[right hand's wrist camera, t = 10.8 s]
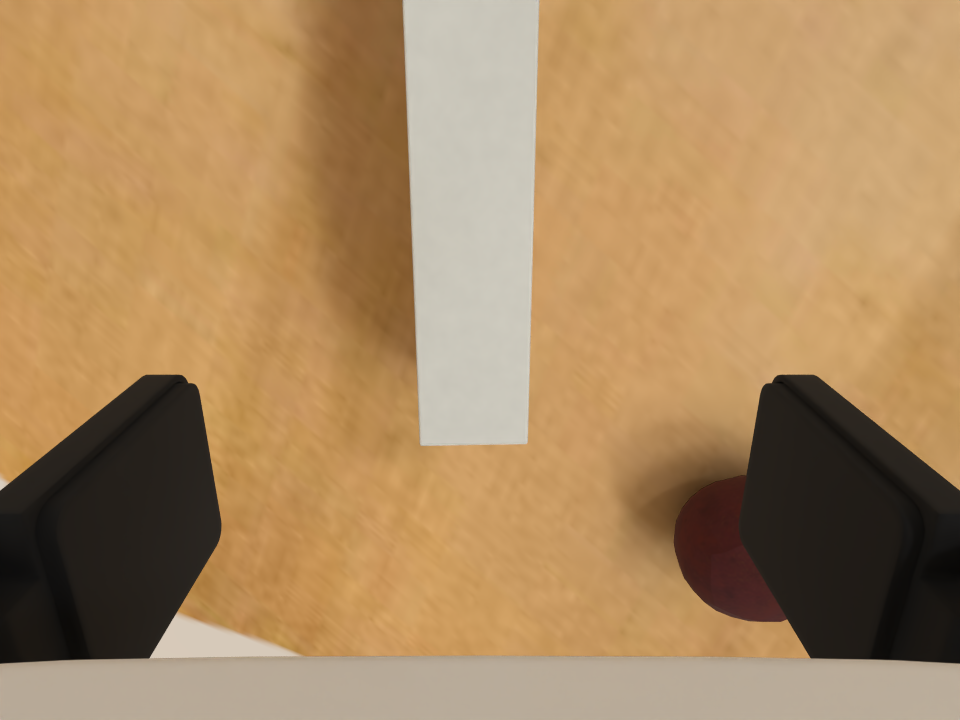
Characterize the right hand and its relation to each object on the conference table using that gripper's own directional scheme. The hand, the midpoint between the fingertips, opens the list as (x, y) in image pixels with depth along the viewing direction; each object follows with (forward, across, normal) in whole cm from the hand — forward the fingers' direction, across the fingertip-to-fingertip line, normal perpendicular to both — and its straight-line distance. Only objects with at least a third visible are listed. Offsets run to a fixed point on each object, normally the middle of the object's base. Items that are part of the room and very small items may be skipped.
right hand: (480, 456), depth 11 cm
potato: (+22, +14, -16) cm, 30 cm away
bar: (+22, -1, +33) cm, 40 cm away
